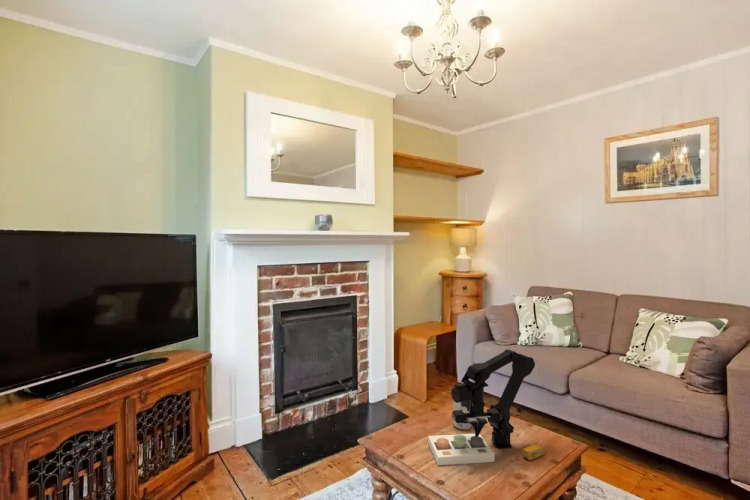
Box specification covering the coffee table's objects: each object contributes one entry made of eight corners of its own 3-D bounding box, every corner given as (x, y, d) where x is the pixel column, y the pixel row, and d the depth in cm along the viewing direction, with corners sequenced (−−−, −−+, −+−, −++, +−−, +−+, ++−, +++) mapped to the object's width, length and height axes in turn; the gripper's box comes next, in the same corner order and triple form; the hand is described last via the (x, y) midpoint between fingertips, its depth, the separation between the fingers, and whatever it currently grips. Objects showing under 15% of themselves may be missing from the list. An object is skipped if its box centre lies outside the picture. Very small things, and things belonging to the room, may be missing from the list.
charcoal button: (480, 443, 157) (480, 435, 157) (484, 449, 152) (484, 441, 152) (469, 443, 157) (469, 436, 157) (473, 450, 152) (473, 442, 152)
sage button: (463, 441, 156) (463, 433, 156) (467, 447, 152) (467, 440, 152) (452, 441, 156) (452, 434, 156) (455, 448, 151) (455, 440, 151)
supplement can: (453, 421, 180) (452, 389, 180) (471, 422, 179) (470, 390, 179) (454, 429, 172) (453, 396, 172) (473, 430, 171) (472, 397, 171)
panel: (479, 440, 163) (479, 432, 163) (494, 461, 147) (494, 453, 147) (428, 443, 161) (428, 435, 161) (438, 465, 145) (438, 457, 145)
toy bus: (545, 455, 152) (545, 445, 151) (528, 462, 147) (528, 452, 147) (538, 451, 154) (538, 441, 154) (521, 458, 150) (521, 448, 150)
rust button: (447, 445, 156) (446, 437, 156) (450, 451, 151) (450, 443, 151) (435, 445, 155) (435, 438, 155) (438, 452, 151) (438, 444, 151)
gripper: (491, 389, 163) (491, 425, 163) (448, 391, 161) (448, 428, 162) (502, 400, 152) (502, 439, 152) (456, 402, 150) (456, 441, 151)
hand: (476, 436), depth 154 cm, fingers closed
